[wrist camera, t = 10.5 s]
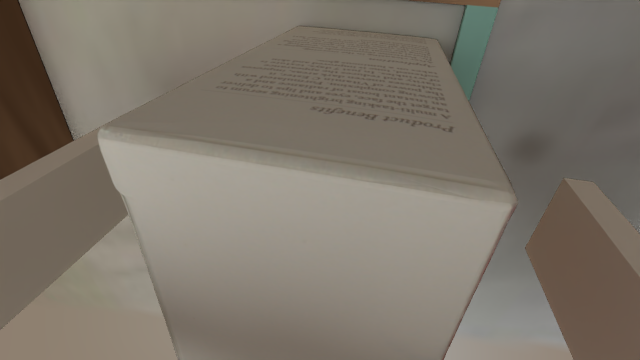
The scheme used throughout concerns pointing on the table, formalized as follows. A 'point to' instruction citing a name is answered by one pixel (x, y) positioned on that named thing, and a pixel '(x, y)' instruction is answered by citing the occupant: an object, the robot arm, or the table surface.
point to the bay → (48, 121)
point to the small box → (313, 200)
